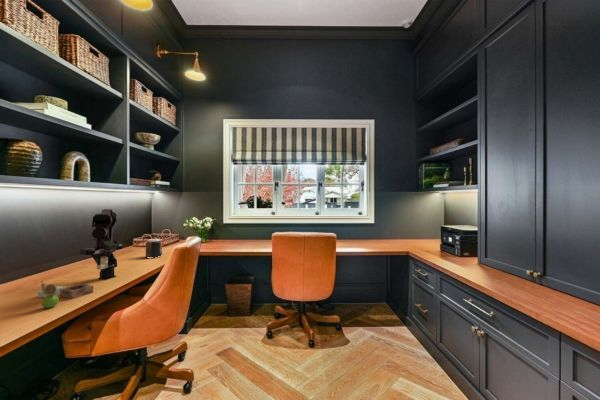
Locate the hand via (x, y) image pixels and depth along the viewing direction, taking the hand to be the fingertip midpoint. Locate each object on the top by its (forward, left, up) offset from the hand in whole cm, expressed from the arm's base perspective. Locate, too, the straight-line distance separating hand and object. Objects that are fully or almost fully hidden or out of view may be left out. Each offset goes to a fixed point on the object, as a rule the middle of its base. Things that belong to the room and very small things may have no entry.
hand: (102, 264), depth 136 cm
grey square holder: (+12, 0, -12) cm, 17 cm away
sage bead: (+16, -12, -12) cm, 23 cm away
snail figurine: (+26, +6, -12) cm, 29 cm away
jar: (-64, -36, -12) cm, 75 cm away
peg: (0, 0, -2) cm, 2 cm away
